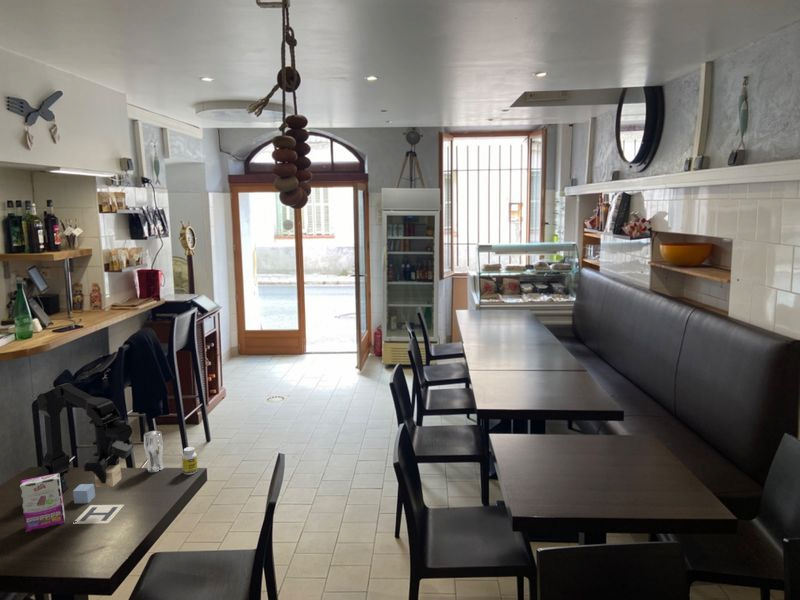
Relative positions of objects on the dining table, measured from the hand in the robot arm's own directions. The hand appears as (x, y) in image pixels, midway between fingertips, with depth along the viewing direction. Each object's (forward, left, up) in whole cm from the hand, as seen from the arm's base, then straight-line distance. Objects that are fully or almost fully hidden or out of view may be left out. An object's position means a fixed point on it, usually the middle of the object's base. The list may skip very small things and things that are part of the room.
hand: (108, 478), depth 204 cm
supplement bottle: (+19, +27, -11) cm, 35 cm away
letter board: (-2, -4, -11) cm, 12 cm away
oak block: (0, 0, -1) cm, 1 cm away
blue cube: (-12, +6, -11) cm, 18 cm away
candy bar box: (-17, -10, -11) cm, 23 cm away
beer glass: (+4, +30, -11) cm, 32 cm away
